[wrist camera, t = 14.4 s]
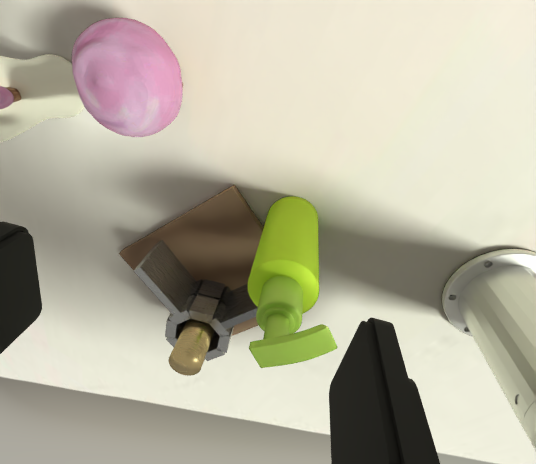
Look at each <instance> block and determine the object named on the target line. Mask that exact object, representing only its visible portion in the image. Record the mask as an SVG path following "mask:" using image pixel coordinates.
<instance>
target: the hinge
mask: <svg viewBox="0 0 536 464" xmlns="http://www.w3.org/2000/svg"><path fill="white" fill-rule="evenodd" d="M134 272H135V273H136V274H137V275H138V276H139V278H140V279H141V280H142V281H143V282H144V283H145V284H146V285H147V286H148V288H149V289H150V290H151V291H152V292H153V293H154V294H155V295H156V296H157V298H158V299H159V300H160V301H161V302H162V303H163V304H164V305H165V307H166V308H167V309H168V310H169V311H170V312H171V314H170V316H169V317H168V319H167V324H166V334H165V337H167V339H166V340H167V341H168V342H169V343H170V344H171V345H172V346H173V347H175V344H176V342H177V340H178V338H179V336H180V334H181V332H182V330H183V328H184V326H185V324H186V322H187V320H189V319H194V320H198V321H202V322H206V323H209V324H210V325H211V326H212V327H213V329H214V330H215V331H214V334H213V337H212V340H211V342H210V345H209V348H208V351H207V353H206V356H205V359H206V360H207V361H209V360H211V359H214V358H217V357H219V356H222V355H225V352H226V353H227V349H228V346H229V343H230V339H231V336H232V332H233V329H234V326H235V325H237V324H240V323H242V322H244V321H247V320H249V319H252V318H254V317H256V313H257V308H258V307H257V306H256V305H255V304H254V302H253V301H252V300H251V298H250V296H249V293H248V284H245V285H243V286H241V287H239V288H236V289H234V290H231V289H230V288H229V287H228V286H227V287H225V284H223V283H219V282H215V281H211V280H207V279H205V280H204V281H203V280H202V279H201V280H199V281H196V280H195V279H194V278H193V276H192V275H191V274H190V273H189V272H188V270H187V269H186V268H185V267H184V266H183V264H182V263H181V262H180V261H179V260H178V258H177V257H176V256H175V255H174V253H173V252H172V251H171V250H170V249H169V247H168V246H167V245H166V244H165V243H164V241H163V240H161V241H159V242H157V243H156V244H155V245H154V247H153V248H152V249H151V250H150V251H149V253H148V254H147V255H146V256H145V257H144V259H143V260H142V261H141V262H140V264H139V265H138V266H137V267H136V268H135V270H134ZM205 359H204V360H205Z"/></svg>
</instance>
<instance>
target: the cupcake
mask: <svg viewBox="0 0 536 464" xmlns="http://www.w3.org/2000/svg"><path fill="white" fill-rule="evenodd" d="M72 70H73V76H74V80H75V83H76V87H77V90H78V93H79V96H80V98H81V101H82V103H83V105H84V107H85V108H86V109H87V111H88V112H89V113H90V114H91V115H92V116H93V117H94V118H95V119H96V120H97V121H98V122H99V123H100V124H101V125H103V126H104V127H106V128H108V129H109V130H111V131H114V132H116V133H118V134H121V135H124V136H131V137H143V136H149V135H152V134H155V133H157V132H159V131H161V130H162V129H164V128H165V127H167V126H168V125H169V124H170V123H171V122H172V121H173V120H174V119H175V118H176V117H177V115H178V113H179V110H180V106H181V102H182V87H183V83H182V80H181V70H180V66H179V63H178V61H177V58H176V57H175V55H174V53H173V52H172V50H171V49H170V47H169V46H168V45H167V43H166V42H165V41H164V39H163V38H162V37H161V36H160V35H159V34H158V33H157V32H156V31H155V30H154V29H152V28H151V27H149V26H147V25H145V24H143V23H141V22H139V21H136V20H133V19H128V18H109V19H104V20H100V21H98V22H96V23H93V24H92V25H90V26H89V27H88V28H86V29H85V30H84V31H83V32H82V33H81V34H80V35H79V37H78V38H77V39H76V41H75V43H74V47H73V50H72Z"/></svg>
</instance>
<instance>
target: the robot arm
mask: <svg viewBox="0 0 536 464" xmlns="http://www.w3.org/2000/svg"><path fill="white" fill-rule="evenodd" d="M442 306H443V309H444V312H445V314H446V316H447V318H448V320H449V321H450V322H451V324H452V325H453V326H454V327H455V328H457V329H458V330H459V331H461V332H463V333H465V334H467V335H469V336H473V337H474V339H475V341H476V343H477V345H478V347H479V348H480V350H481V352H482V354H483V356H484V358H485V359H486V361H487V363H488V365H489V367H490V369H491V370H492V372H493V374H494V376H495V378H496V380H497V381H498V383H499V385H500V387H501V389H502V391H503V392H504V394H505V396H506V398H507V400H508V402H509V403H510V405H511V407H512V409H513V411H514V413H515V414H516V416H517V418H518V420H519V422H520V424H521V425H522V427H523V429H524V431H525V432H526V434H527V436H528V438H529V440H530V441H531V443H532V445H533V447H534V448H535V450H536V253H535V252H532V251H528V250H521V249H503V250H498V251H493V252H489V253H486V254H483V255H480V256H478V257H476V258H474V259H472V260H470V261H468V262H467V263H466V264H464V265H463V266H461V267H460V268H459V269H458V270H457V271H456V272H455V273H454V274H453V275H452V276H451V277H450V279H449V280H448V282H447V283H446V286H445V288H444V290H443V295H442ZM41 310H42V302H41V295H40V288H39V280H38V273H37V266H36V258H35V251H34V244H33V238H32V236H31V235H30V234H29V233H28V230H27V229H26V228H24V227H22V226H18V225H14V224H10V223H7V222H0V354H1V353H2V352H3V351H4V350H5V349H6V348H7V347H8V346H9V345H10V344H11V343H12V342H13V341H14V340H15V339H16V338H17V337H18V336H19V335H21V334H22V333H23V332H24V331H25V330H26V329H27V328H28V327H29V326H30V325H31V324H32V323H33V322H34V321H35V320H36V319H37V318H38V316H39V315H40V313H41ZM329 405H330V432H331V458H332V464H440V463H439V459H438V456H437V452H436V449H435V445H434V442H433V439H432V435H431V432H430V429H429V425H428V422H427V419H426V415H425V412H424V408H423V405H422V402H421V398H420V395H419V392H418V389H417V386H416V384H415V382H414V381H413V380H412V379H409V378H408V375H407V372H406V368H405V365H404V361H403V358H402V354H401V350H400V347H399V343H398V340H397V336H396V333H395V329H394V326H393V324H392V323H390V322H386V321H383V320H379V319H375V318H370V319H368V321H367V322H365V321H362V322H361V323H360V325H359V327H358V329H357V331H356V333H355V335H354V337H353V339H352V341H351V343H350V345H349V347H348V349H347V351H346V353H345V355H344V358H343V360H342V362H341V364H340V366H339V368H338V370H337V372H336V374H335V376H334V378H333V380H332V382H331V385H330V391H329Z"/></svg>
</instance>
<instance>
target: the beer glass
mask: <svg viewBox="0 0 536 464" xmlns="http://www.w3.org/2000/svg"><path fill="white" fill-rule="evenodd" d="M83 109H84V105H83V103H82V101H81V98H80V96H79V93H78V90H77V87H76V83H75V80H74V76H73V70H72V64H71V63H70V62H69V61H68V60H66V59H64V58H63V57H60V56H57V55H53V54H45V55H40V56H37V57H34V58H31V59H26V60H22V59H15V58H9V57H5V56H0V143H2V142H5V141H7V140H10V139H12V138H14V137H16V136H18V135H20V134H22V133H24V132H25V131H27V130H29V129H31V128H32V127H34V126H36V125H37V124H39V123H41V122H43V121H45V120H47V119H51V118H71V117H74V116H76V115H78V114H79V113H80V112H81V111H82V110H83Z"/></svg>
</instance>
